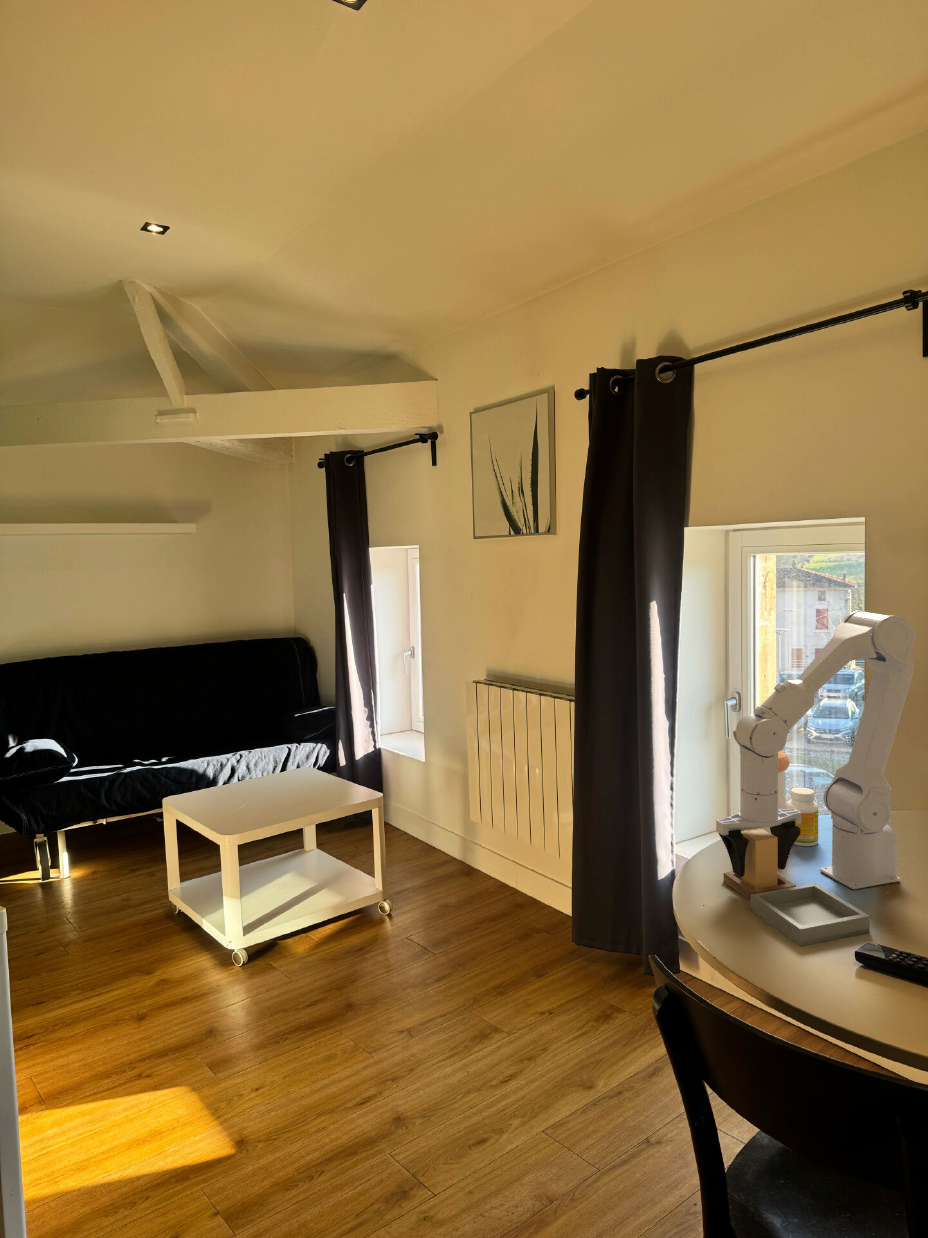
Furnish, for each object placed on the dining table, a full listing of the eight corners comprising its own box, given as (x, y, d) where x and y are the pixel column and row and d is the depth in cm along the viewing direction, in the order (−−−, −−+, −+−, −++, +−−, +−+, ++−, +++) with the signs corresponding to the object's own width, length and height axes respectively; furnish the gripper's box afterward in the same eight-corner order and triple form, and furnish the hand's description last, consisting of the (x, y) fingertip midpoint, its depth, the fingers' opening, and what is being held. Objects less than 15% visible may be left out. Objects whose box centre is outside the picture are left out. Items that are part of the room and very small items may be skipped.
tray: (815, 898, 129) (815, 883, 129) (869, 932, 118) (869, 916, 118) (750, 910, 126) (750, 894, 126) (800, 946, 115) (800, 929, 115)
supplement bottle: (821, 847, 149) (821, 795, 148) (789, 846, 150) (790, 795, 149) (814, 836, 154) (815, 786, 153) (784, 835, 155) (784, 785, 154)
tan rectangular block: (762, 881, 136) (762, 829, 135) (777, 891, 132) (777, 837, 131) (741, 885, 135) (741, 832, 134) (755, 895, 131) (755, 841, 130)
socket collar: (765, 874, 139) (765, 866, 138) (796, 894, 131) (796, 885, 131) (723, 881, 137) (723, 873, 136) (752, 902, 129) (752, 893, 129)
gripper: (782, 777, 138) (782, 855, 139) (705, 787, 134) (706, 867, 135) (810, 789, 131) (809, 871, 132) (730, 801, 127) (730, 885, 129)
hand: (759, 870), depth 133 cm, fingers open, 7 cm apart
